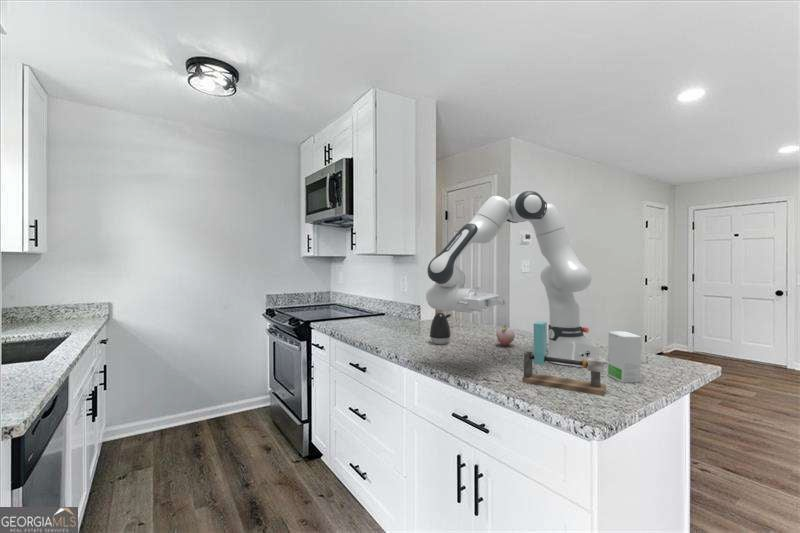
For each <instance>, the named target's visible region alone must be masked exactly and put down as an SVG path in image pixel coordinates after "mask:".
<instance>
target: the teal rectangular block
mask: <svg viewBox="0 0 800 533" xmlns="http://www.w3.org/2000/svg"><path fill="white" fill-rule="evenodd" d="M547 326H548V325H547V322H546V321H538V320H537V321H536V322H534V323H533V355H534V359H533V360H534V362H533V363H534V364H533V365H539V366H545V365H546V364H547V361H544V356H545V357H546V355H547V351H548V347H547V345H548V343H547V340H548V339H547V338H548V336H547V331H548V330H547Z"/></svg>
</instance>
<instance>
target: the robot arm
mask: <svg viewBox="0 0 800 533" xmlns="http://www.w3.org/2000/svg"><path fill="white" fill-rule="evenodd" d="M505 222H509V223H512V224H515V223H516V224H518V223H525V222H530V224H531V225H532V227H533V229H534V234H535V236H536V240H537V244H538V247H539V249H540V250H539V251H540V253H541V255H542V256H543V257H544V258H545V259H546V261H547V262H548V263H549V264H548V265H547V266H545V267H544V268H543V269H542V270H541V272H540V281H541V283H542V284H543V286H544V289H545V292H546V296H547V299H548V300H547V301H548V308H549V324H548V330H547V331H548V347H547V352H546V357H553V358H561V359H569V360H577V361H583V359H585V360H587V362H588V359H589V358H594V359H602V360H603V364H606V363H607V360H606V359H605V358H604V357H602V356H600V351H599V347H598V345H597V344H596V343H594V342H593V341H592V340H590V339H589V338H587V337H586V336H585V335H584V333H586V334H588V333H589V332H590V328H589V327H586V326H583V327H582V326H580V323H581V322H580V319H581V318H580V316H581V314H580V313H581V312H580V309H581V308H580V306H579V303H578V302H577V301H576V298H575V295H574V293H577V292H582V291H584V290H587V289H588V287H590V285H591V281H592V274H591V271H589V269H588V268H587V267H585V266H584V265H583V263H582V262H581V261H580V259H579V258H578V256H577V255H576V253H575V251H574V249H573V247H572V245H571V243H570V239H569V237H568V234H567V233H568V232H567V229H566V227H565V224H564V220H563V218H562V216H561V214H560V211H559V210H558V208H557V207H556V205H555V204H554V203H550V202H549V203H547V202H546V201H545V200H544V198H543V196H541V194H539V192H536V191H533V190H526V191H523V192H519V193H517V194H515V195H513V196H512V197H508V198H507V199H505V197H502V196H500V195H492V196H490V197H489V198H488V199H487V200H485V202H484V203H483V205H482V206H481V207H480V208H479V209H478V211H477V212H476V213H475V215H474V216H473V218H472V219H471V220H470V221H469V222H468V223H466V224H465V225H463V226H462V227H461V228H460V229H459V230H458V231H457V232H456V233H455V235H454V236H453V237H452V238H451V240H450V241H449V242H448V244H446V246H445V247H444V248H443V250H441V251H440V252H439V253H438V254H437V255H436V256H434V257H433V258H432V259H431V260H430V261H429V263H428V265H427V276H428V279H430V280H431V281H432V282H435V283H434V284H433V285H432V286H431V287H430V288H428V289H427V291H426V294H425V295H426V296H425V299H426V301H427V304H428V306H429V307H430V308H432V309H433V310H438V311H446V312H450V311H455V312H458V313H468V314H469V313H471V314H472V312H474V311H475V310H484V309H487V308H491V307H494V306H500V307H501V306H505V305H506V300H505V299H500V295H499V294H497V293H490V292H482V291H480V290H475V289H473V288H465V287H464V286H465V282H466V276H465V273H464V272H463V271H462V270H461V269H460V268H459V267H458V266H457V265H456V262H457V260H458V258H460V256H461V255H462V254H463V253H464V251H465V250H466V249H467V247H468V246H470V245H471V244H474V243H477V244H488V243H490V242H491V241H492V240H493V239H495V237H496V236H497V235H498V233H499V231H500V230H501V228H502V227H503V225H504V224H505ZM548 362H549V363H553V364H557V365H564V366H572V367H578V368H581V367H582V368H583V366H581V365H573V364H565V363H558V362H550V361H548Z"/></svg>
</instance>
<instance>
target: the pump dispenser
mask: <svg viewBox="0 0 800 533" xmlns="http://www.w3.org/2000/svg"><path fill="white" fill-rule="evenodd" d="M451 317H452V314H451V313H450V314H444V313H443V312H437V313H436V314H435V315H434V316H433V319H432V322H431V324H430V328H429V337H430V340H431V342H432V343H433V344H434V345H435V344H436V345H446V344H447V343H449V341H450V338H451V336H452V334H451V333H452V332H451V329H450V328H451V327H450V324H449V320H448V318H451Z"/></svg>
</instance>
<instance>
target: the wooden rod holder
mask: <svg viewBox="0 0 800 533" xmlns="http://www.w3.org/2000/svg"><path fill="white" fill-rule="evenodd" d="M523 356H524V357H523V358H524V359H523V377H522V378H521V379H522V380H521V381H522V382H521V383H524V384H530V385H534V386H535V385H536V386H541V387H548V388H554V389H555V388H556V389H561V390H567V391H572V392H579V393H585V394H590V395H591V394H592V395H597V396H605V393H606V390H607V384H606V383H602V382H601V373H603V372H604V368H605V367H604V366H605V365H604V363H603V360H602V359H594V358H589V359H588V362H587V360H585V359H583V361H577V360H569V359H561V358H553V357H545V356H544V361H546V362H549V361H550V362H549V363H552V362H558V363H565V364H573V365H581V366H583V367H582V368H583V369H587V371H588V372H590V381H586V380H581V379H574V378H567V377H566V378H565V377H562V376H561V377H559V376H555V375H554V376H553V375H546V374H539V373H533V360H534V354H533V352H532V351H526V352H524V354H523Z"/></svg>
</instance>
